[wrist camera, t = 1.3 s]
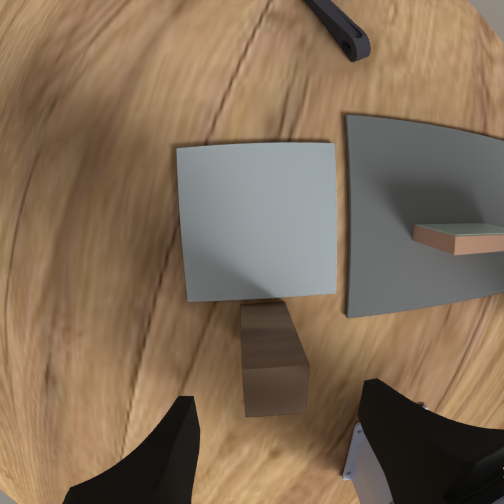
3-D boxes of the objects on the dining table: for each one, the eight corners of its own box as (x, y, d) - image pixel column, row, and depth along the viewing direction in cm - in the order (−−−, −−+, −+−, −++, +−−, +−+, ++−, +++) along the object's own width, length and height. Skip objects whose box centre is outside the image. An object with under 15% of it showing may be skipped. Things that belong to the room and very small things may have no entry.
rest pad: (334, 291, 21) (335, 293, 20) (188, 299, 20) (187, 302, 20) (332, 143, 19) (334, 143, 18) (177, 149, 18) (176, 148, 18)
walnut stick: (284, 340, 21) (305, 412, 14) (243, 343, 21) (245, 417, 14) (284, 301, 21) (308, 364, 13) (240, 304, 21) (242, 369, 13)
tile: (484, 237, 20) (525, 248, 15) (413, 240, 20) (454, 255, 15) (485, 223, 20) (526, 232, 15) (413, 224, 20) (455, 234, 15)
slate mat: (506, 290, 22) (508, 291, 21) (345, 316, 21) (347, 318, 21) (512, 144, 19) (515, 144, 19) (344, 115, 18) (346, 114, 18)
